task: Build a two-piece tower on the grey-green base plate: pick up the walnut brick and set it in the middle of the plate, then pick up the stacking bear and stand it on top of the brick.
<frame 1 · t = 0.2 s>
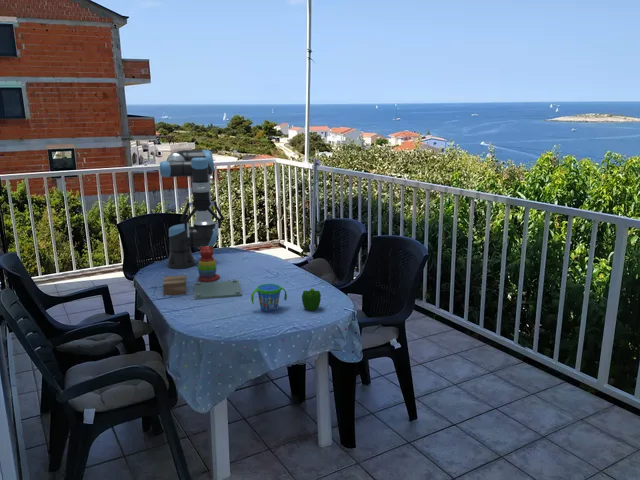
hand: (203, 235, 247), 27 cm above the table, tool pointing down, fingers open, 13 cm apart
walnut brick: (175, 291, 253), on the table
bell pepper: (311, 309, 230), on the table
stacking bear: (208, 280, 271), on the table
snack cup: (269, 309, 229), on the table
base plate: (217, 290, 254), on the table
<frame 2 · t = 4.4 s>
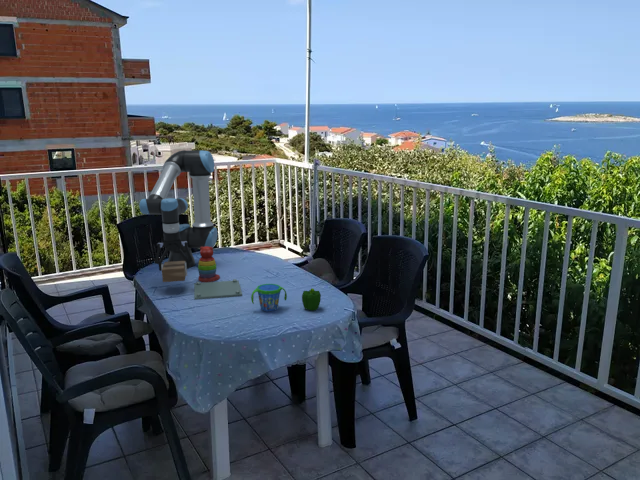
hand: (174, 276, 252), 7 cm above the table, tool pointing down, fingers closed on walnut brick, 10 cm apart
walnut brick: (175, 277, 252), point 7 cm above the table, touching gripper
everything else where it was.
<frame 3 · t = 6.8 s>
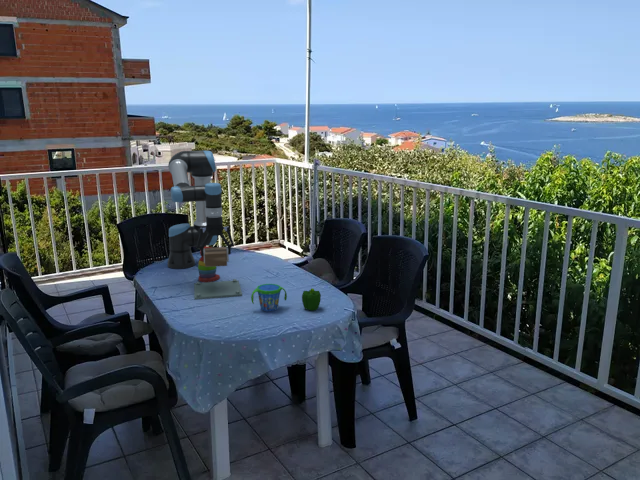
hand: (216, 261, 251), 15 cm above the table, tool pointing down, fingers closed on walnut brick, 10 cm apart
walnut brick: (216, 262, 251), point 14 cm above the table, touching gripper
everything else where it was.
when the fingers open (2 cm above the table, at t = 9.5 s): walnut brick stays where it is, resting on base plate.
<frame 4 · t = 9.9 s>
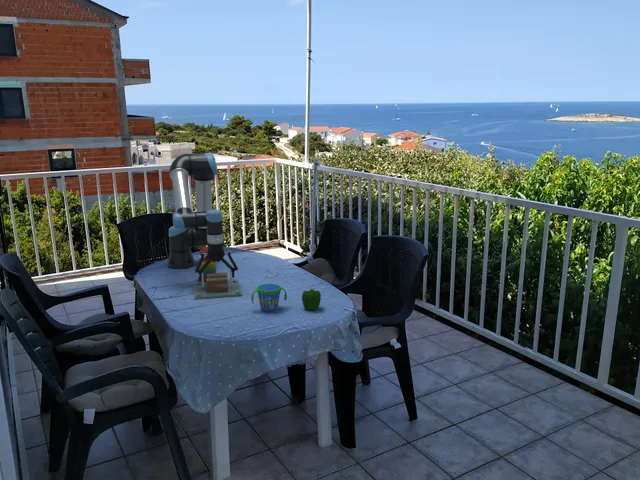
hand: (217, 285, 253), 3 cm above the table, tool pointing down, fingers open, 13 cm apart
walnut brick: (217, 288, 254), point 1 cm above the table, touching base plate
everything else where it was.
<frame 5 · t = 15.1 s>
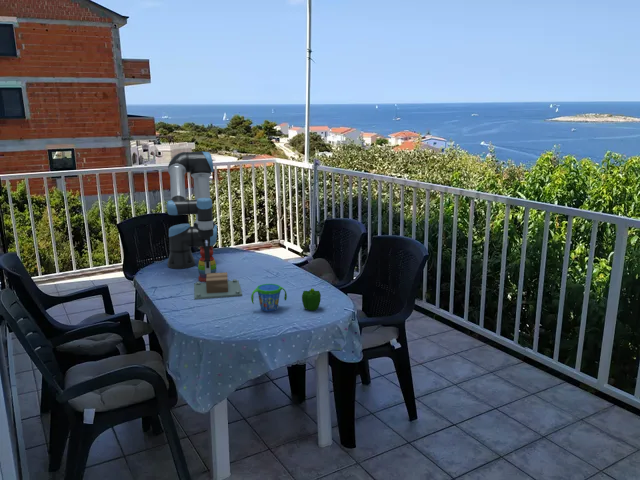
hand: (207, 271, 270), 5 cm above the table, tool pointing down, fingers closed on stacking bear, 9 cm apart
stacking bear: (208, 279, 271), on the table, touching gripper
everything else where it was.
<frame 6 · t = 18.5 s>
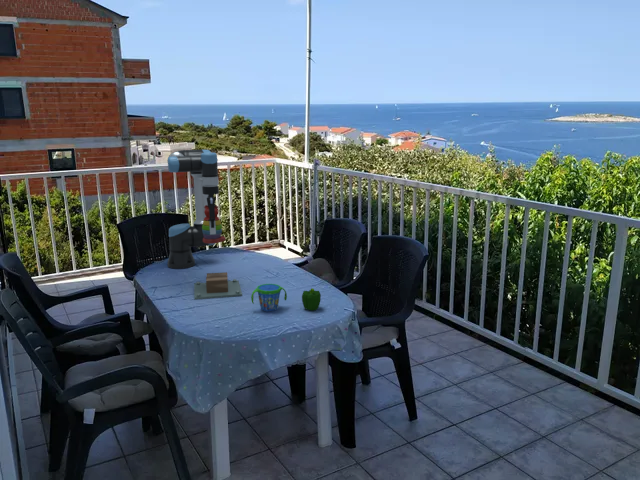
hand: (212, 232, 251), 28 cm above the table, tool pointing down, fingers closed on stacking bear, 9 cm apart
stacking bear: (212, 241, 253), point 23 cm above the table, touching gripper
everything else where it was.
when the fingers open (13 cm above the table, at t = 22.3 s): stacking bear drops 1 cm, resting on walnut brick.
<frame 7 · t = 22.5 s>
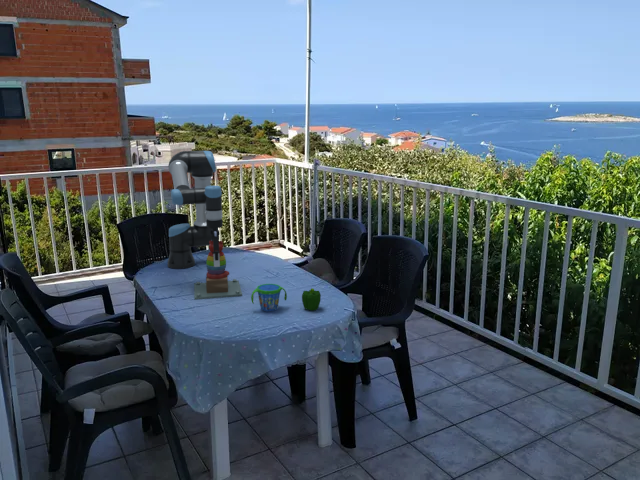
hand: (216, 263, 251), 14 cm above the table, tool pointing down, fingers open, 12 cm apart
walnut brick: (217, 288, 254), point 1 cm above the table, touching base plate, stacking bear
stacking bear: (216, 276, 253), point 7 cm above the table, touching walnut brick
everything else where it was.
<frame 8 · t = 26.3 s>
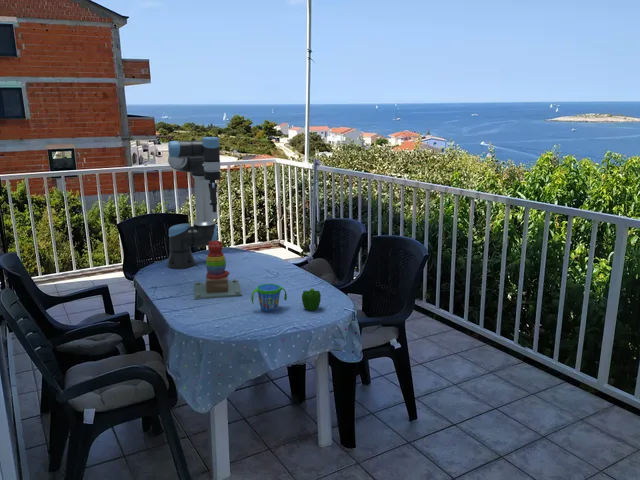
hand: (214, 216, 246), 37 cm above the table, tool pointing down, fingers open, 13 cm apart
nothing on the table moved.
at the end: walnut brick inside the target area on the base plate (0.1 cm from its centre), point 1.0 cm above the base plate's base; stacking bear inside the target area on the walnut brick (0.4 cm from its centre), point 5.8 cm above the walnut brick's base; stacking bear tilted 0° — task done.
